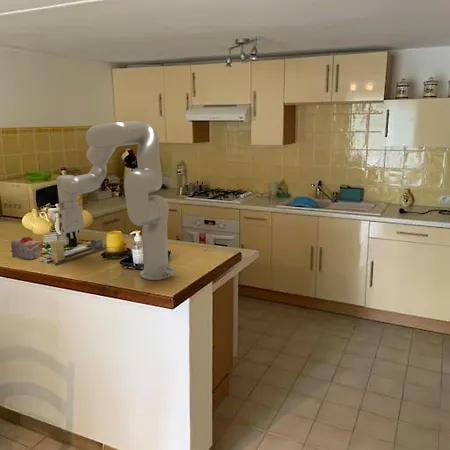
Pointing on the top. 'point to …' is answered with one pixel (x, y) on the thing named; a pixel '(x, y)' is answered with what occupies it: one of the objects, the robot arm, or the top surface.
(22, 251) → the food item
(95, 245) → the grey slide rail
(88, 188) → the robot arm
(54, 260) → the sliding head
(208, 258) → the top surface
